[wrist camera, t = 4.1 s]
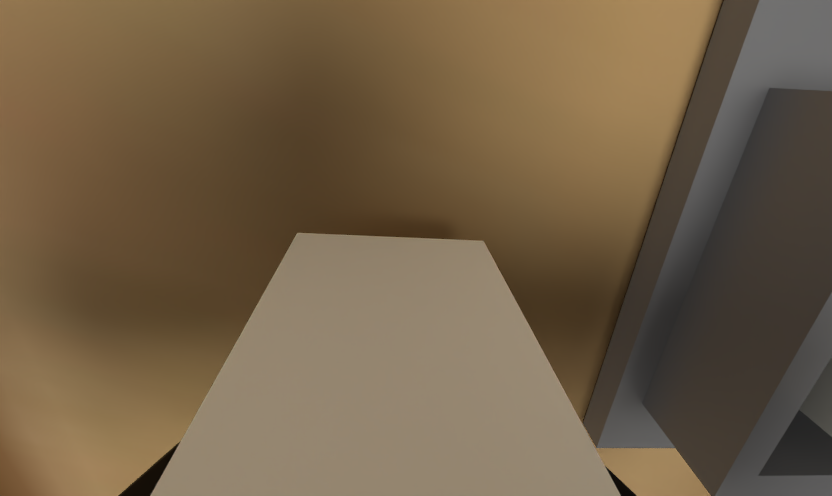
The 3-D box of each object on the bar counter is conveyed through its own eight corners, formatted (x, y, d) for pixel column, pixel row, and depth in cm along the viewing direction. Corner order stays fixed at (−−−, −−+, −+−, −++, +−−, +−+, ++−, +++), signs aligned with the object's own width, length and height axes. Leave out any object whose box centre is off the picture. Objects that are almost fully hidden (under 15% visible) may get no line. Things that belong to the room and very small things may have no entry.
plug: (457, 411, 11) (554, 903, 4) (307, 410, 10) (177, 940, 4) (483, 240, 9) (731, 699, 2) (297, 232, 8) (13, 740, 2)
